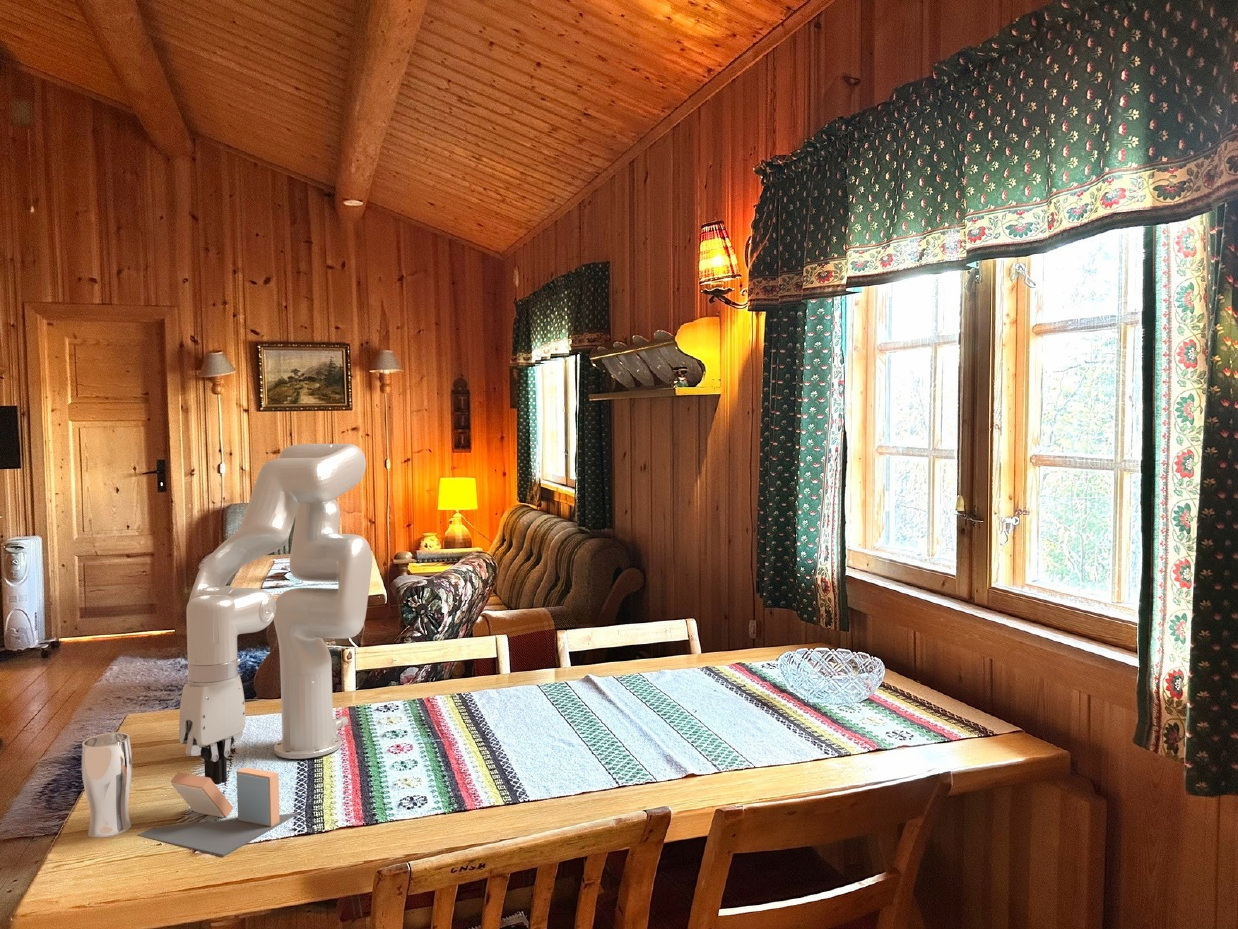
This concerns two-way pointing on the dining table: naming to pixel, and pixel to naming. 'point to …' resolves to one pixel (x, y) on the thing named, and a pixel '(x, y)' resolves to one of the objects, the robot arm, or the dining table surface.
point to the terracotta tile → (201, 794)
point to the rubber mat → (212, 834)
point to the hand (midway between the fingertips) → (215, 782)
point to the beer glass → (107, 782)
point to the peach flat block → (258, 796)
